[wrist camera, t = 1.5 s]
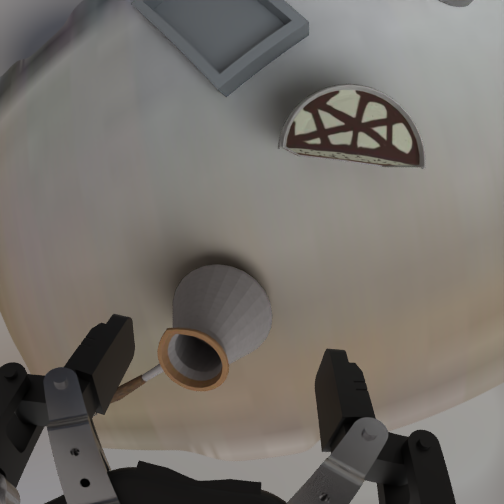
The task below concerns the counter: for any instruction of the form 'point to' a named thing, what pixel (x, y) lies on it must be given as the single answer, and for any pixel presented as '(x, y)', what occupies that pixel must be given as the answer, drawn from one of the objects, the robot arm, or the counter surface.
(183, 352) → the coffee pot
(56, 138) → the counter surface
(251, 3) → the tray
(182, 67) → the counter surface
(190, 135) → the counter surface
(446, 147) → the counter surface
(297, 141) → the food container
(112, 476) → the robot arm
